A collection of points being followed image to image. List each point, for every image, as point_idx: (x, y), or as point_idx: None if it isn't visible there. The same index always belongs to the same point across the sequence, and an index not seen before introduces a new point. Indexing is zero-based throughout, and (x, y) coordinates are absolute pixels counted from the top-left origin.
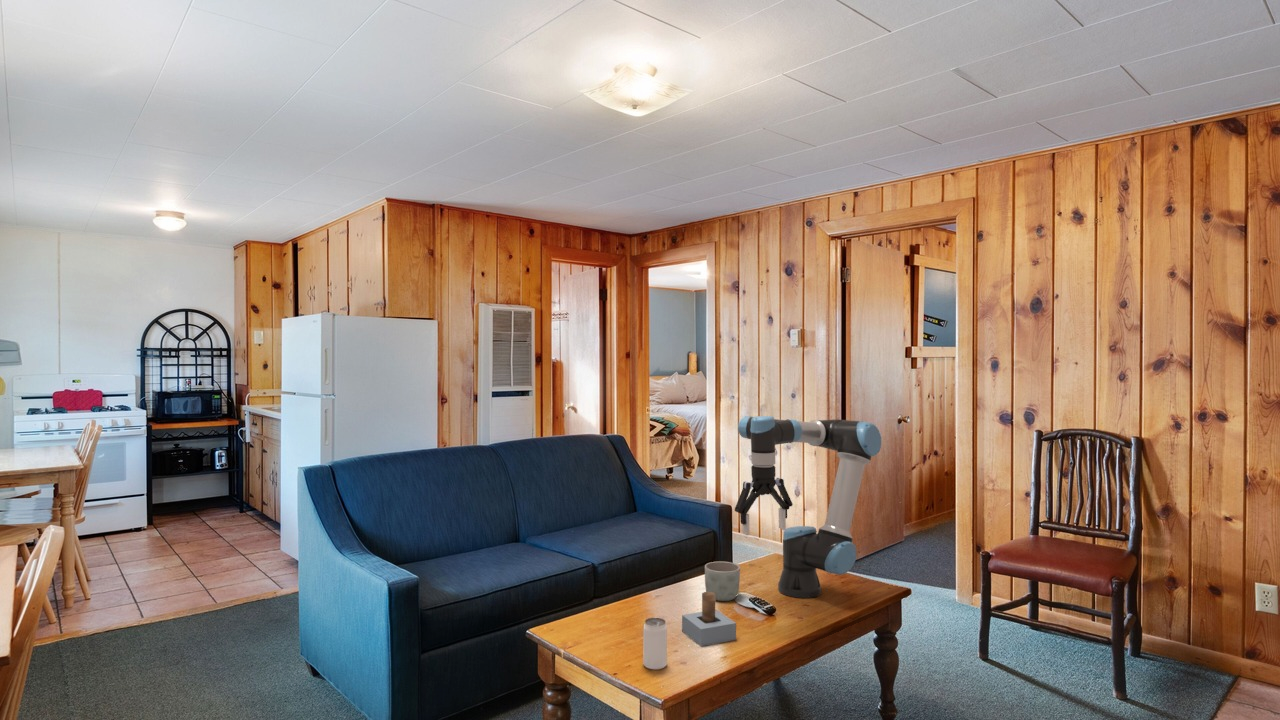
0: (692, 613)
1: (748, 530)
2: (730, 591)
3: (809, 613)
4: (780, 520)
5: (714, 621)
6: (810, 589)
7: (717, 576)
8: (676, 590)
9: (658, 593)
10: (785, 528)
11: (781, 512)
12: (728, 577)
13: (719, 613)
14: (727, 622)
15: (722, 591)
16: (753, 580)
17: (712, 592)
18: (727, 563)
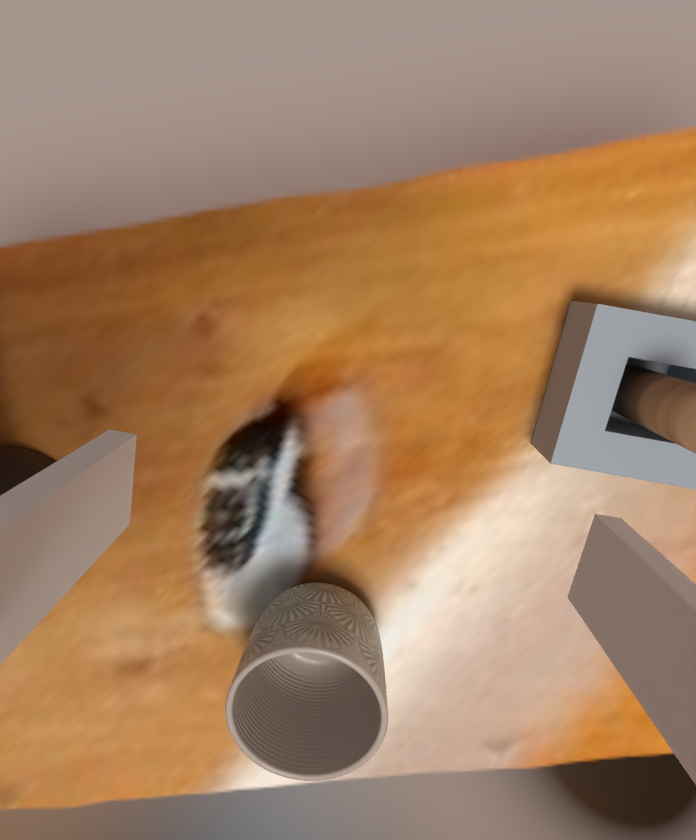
0: (661, 481)
1: (633, 542)
2: (328, 596)
3: (141, 336)
4: (84, 537)
5: (646, 374)
6: (4, 461)
7: (373, 665)
8: (412, 749)
9: (483, 759)
10: (103, 435)
11: (7, 581)
12: (335, 636)
13: (572, 423)
14: (623, 328)
15: (358, 610)
16: (103, 685)
17: (693, 435)
18: (245, 740)
